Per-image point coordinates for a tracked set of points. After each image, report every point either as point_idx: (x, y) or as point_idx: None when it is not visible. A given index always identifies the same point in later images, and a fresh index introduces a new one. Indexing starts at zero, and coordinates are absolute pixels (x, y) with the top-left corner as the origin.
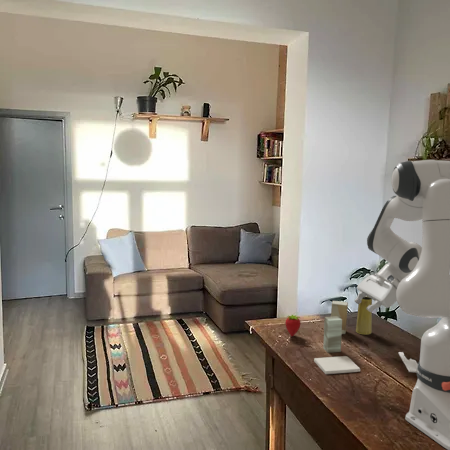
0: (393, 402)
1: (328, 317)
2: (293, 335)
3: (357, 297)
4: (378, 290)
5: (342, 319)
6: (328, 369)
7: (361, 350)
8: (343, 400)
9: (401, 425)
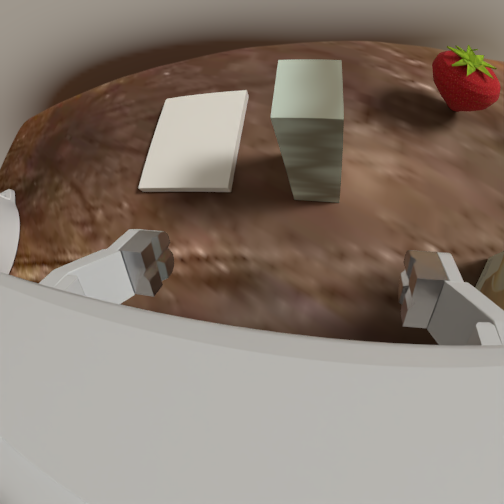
0: (38, 198)
1: (328, 71)
2: (447, 104)
3: (455, 280)
4: (6, 393)
5: (501, 294)
6: (170, 107)
7: (284, 290)
8: (82, 115)
9: (13, 178)
